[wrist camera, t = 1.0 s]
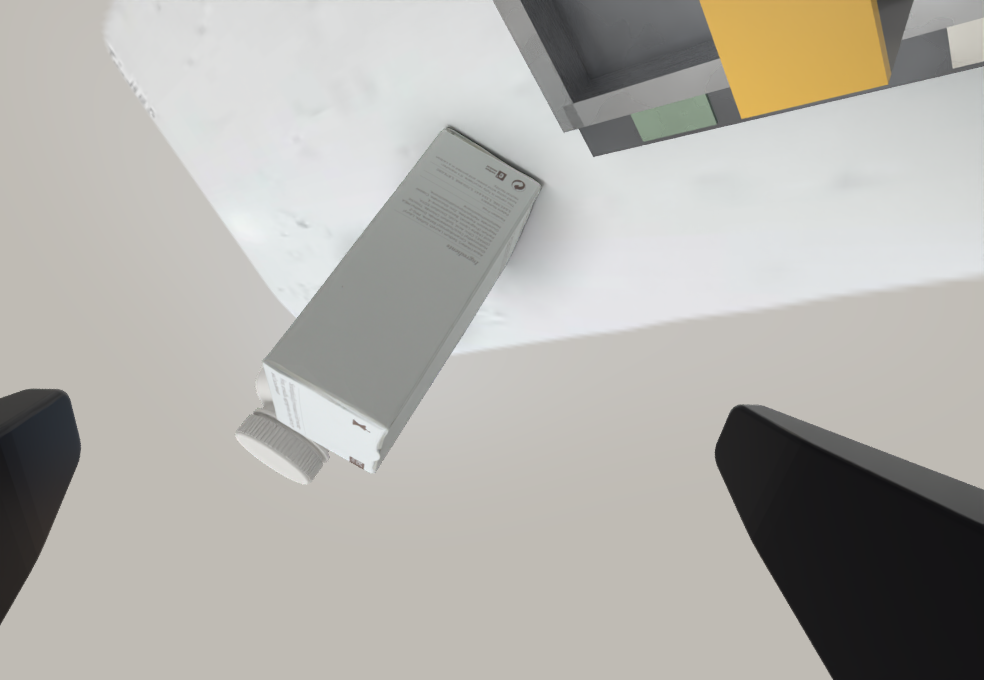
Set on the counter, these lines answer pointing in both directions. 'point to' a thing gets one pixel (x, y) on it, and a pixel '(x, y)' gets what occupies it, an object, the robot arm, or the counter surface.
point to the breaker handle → (804, 48)
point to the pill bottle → (279, 440)
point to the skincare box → (399, 301)
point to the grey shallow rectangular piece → (686, 63)
